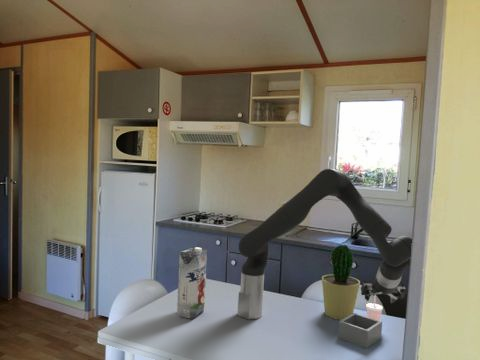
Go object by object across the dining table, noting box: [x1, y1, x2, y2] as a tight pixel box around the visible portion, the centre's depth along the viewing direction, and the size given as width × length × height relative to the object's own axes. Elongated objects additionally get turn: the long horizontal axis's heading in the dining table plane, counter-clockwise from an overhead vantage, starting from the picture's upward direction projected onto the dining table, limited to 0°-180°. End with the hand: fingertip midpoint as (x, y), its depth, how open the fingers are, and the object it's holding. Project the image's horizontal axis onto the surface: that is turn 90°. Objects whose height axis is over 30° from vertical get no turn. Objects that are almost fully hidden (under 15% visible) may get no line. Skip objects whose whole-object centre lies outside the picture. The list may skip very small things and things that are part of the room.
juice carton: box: [176, 246, 208, 320], centre depth 156 cm, size 9×10×27 cm
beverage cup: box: [365, 295, 384, 321], centre depth 152 cm, size 6×6×14 cm
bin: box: [337, 312, 383, 349], centre depth 144 cm, size 12×11×6 cm
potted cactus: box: [321, 244, 361, 321], centre depth 164 cm, size 15×15×30 cm
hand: (379, 299), depth 144 cm, fingers open, 8 cm apart
